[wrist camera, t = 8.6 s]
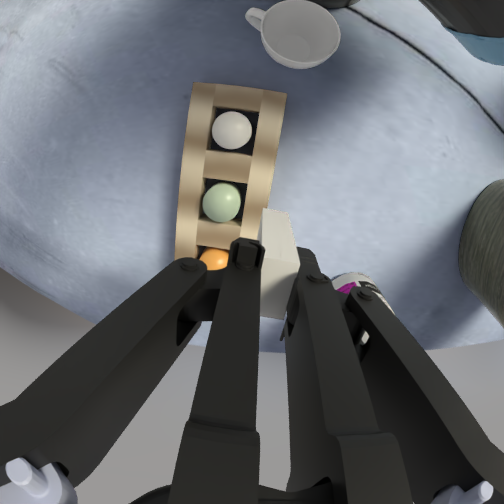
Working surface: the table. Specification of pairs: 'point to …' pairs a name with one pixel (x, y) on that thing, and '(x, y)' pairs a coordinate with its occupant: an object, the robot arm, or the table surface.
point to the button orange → (215, 258)
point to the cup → (296, 32)
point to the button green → (222, 201)
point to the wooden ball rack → (225, 165)
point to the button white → (231, 130)
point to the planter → (485, 250)
